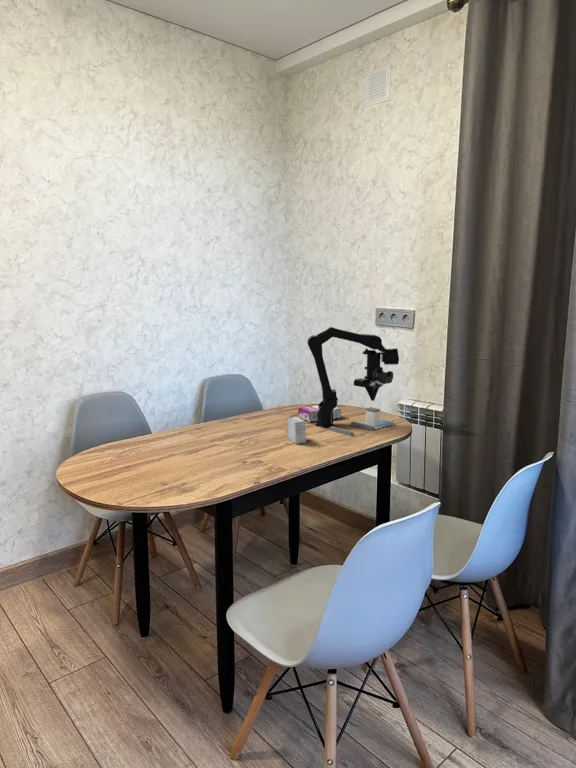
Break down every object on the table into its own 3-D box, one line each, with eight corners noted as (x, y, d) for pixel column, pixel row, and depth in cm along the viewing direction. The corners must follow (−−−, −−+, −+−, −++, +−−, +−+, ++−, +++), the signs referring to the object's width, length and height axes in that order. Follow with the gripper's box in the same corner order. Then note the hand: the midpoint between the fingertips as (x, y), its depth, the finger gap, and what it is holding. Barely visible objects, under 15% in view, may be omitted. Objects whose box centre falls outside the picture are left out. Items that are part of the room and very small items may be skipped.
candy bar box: (309, 423, 235) (341, 418, 242) (309, 412, 234) (341, 407, 241) (297, 418, 245) (328, 413, 252) (297, 407, 244) (328, 403, 251)
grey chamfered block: (374, 426, 227) (374, 410, 226) (365, 424, 231) (365, 408, 230) (379, 424, 229) (379, 409, 228) (370, 422, 233) (371, 407, 232)
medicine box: (306, 443, 204) (306, 421, 202) (295, 444, 202) (295, 422, 201) (298, 438, 211) (298, 416, 210) (287, 439, 209) (287, 417, 208)
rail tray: (350, 436, 213) (350, 432, 213) (329, 430, 222) (329, 426, 222) (393, 424, 230) (393, 421, 230) (372, 419, 239) (372, 416, 239)
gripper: (373, 368, 214) (372, 406, 216) (402, 364, 226) (401, 400, 228) (353, 366, 222) (352, 402, 225) (382, 362, 234) (381, 396, 237)
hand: (372, 400), depth 228 cm, fingers closed
